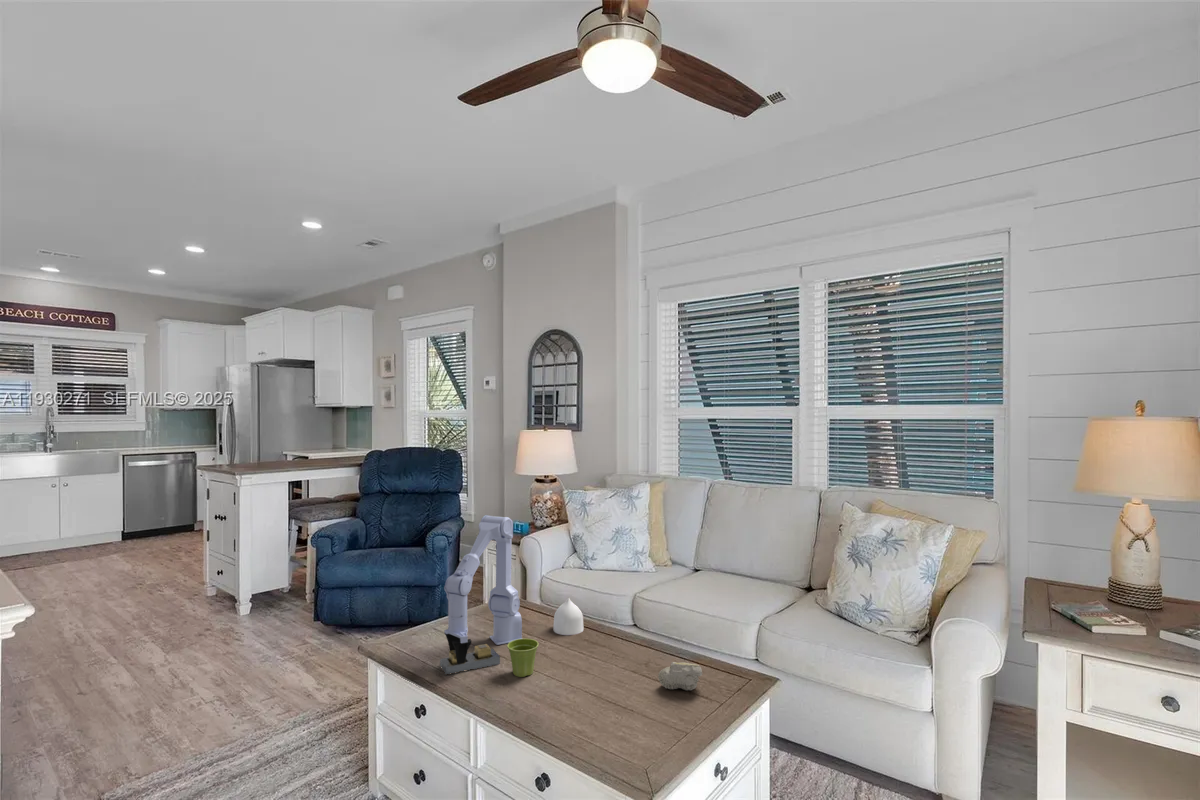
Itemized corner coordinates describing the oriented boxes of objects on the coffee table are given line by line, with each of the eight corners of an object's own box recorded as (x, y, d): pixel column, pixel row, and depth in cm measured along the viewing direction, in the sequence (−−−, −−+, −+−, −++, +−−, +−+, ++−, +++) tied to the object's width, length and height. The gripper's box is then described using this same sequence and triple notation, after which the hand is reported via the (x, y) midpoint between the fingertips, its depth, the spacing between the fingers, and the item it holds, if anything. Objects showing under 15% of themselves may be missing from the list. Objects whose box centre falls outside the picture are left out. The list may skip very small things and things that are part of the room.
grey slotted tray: (492, 656, 195) (492, 648, 195) (499, 664, 189) (499, 656, 189) (440, 666, 187) (440, 659, 187) (445, 675, 181) (446, 667, 181)
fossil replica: (654, 683, 177) (667, 702, 167) (653, 656, 176) (666, 673, 166) (692, 675, 180) (707, 693, 170) (691, 648, 179) (706, 665, 169)
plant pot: (533, 681, 177) (533, 651, 177) (502, 678, 179) (502, 649, 179) (542, 667, 186) (542, 639, 186) (513, 665, 188) (513, 637, 188)
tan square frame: (486, 659, 193) (486, 643, 193) (490, 664, 189) (490, 647, 189) (474, 662, 191) (474, 645, 191) (478, 666, 187) (478, 649, 187)
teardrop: (566, 637, 211) (566, 603, 211) (547, 629, 219) (547, 596, 219) (589, 630, 219) (589, 596, 219) (570, 622, 227) (570, 590, 227)
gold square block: (461, 664, 189) (461, 647, 189) (465, 669, 185) (465, 652, 185) (448, 667, 187) (449, 650, 187) (452, 672, 183) (452, 654, 183)
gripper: (439, 609, 191) (438, 652, 190) (451, 623, 178) (450, 670, 178) (461, 606, 194) (460, 648, 194) (474, 619, 181) (474, 665, 181)
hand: (457, 658), depth 186 cm, fingers open, 7 cm apart
